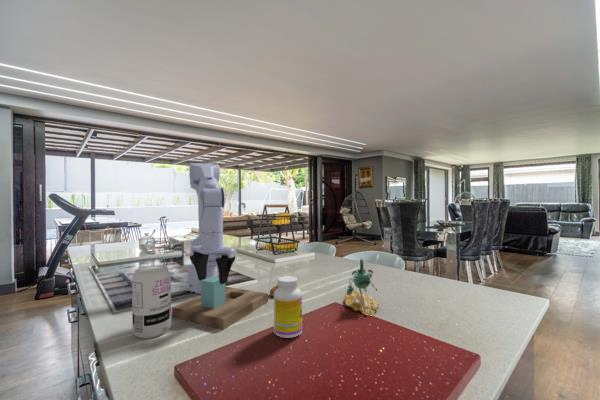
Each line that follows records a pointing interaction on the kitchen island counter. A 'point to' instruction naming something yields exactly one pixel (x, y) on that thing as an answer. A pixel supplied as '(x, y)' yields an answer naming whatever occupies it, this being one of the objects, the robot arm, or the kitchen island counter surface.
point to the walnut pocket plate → (221, 308)
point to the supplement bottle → (287, 308)
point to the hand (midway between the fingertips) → (212, 281)
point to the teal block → (212, 293)
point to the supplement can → (151, 301)
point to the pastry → (273, 290)
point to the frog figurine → (358, 298)
